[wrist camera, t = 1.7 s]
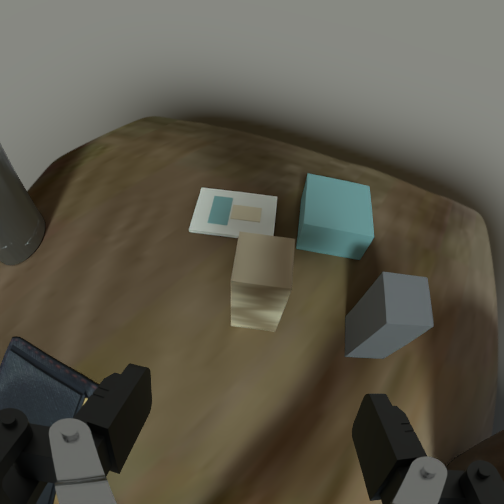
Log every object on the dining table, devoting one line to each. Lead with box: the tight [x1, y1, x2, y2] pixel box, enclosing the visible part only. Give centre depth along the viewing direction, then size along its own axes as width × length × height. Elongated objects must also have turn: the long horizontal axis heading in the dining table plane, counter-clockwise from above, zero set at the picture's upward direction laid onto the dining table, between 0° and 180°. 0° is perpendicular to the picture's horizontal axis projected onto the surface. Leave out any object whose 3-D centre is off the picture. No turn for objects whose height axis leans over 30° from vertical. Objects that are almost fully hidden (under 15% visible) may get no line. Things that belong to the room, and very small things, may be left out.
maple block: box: [231, 232, 295, 332], centre depth 28 cm, size 4×4×10 cm
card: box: [189, 188, 277, 238], centre depth 39 cm, size 10×7×1 cm
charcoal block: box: [345, 272, 434, 359], centre depth 27 cm, size 4×4×10 cm
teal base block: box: [296, 173, 374, 260], centre depth 37 cm, size 8×8×5 cm
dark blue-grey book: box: [0, 337, 99, 504], centre depth 22 cm, size 20×2×15 cm
